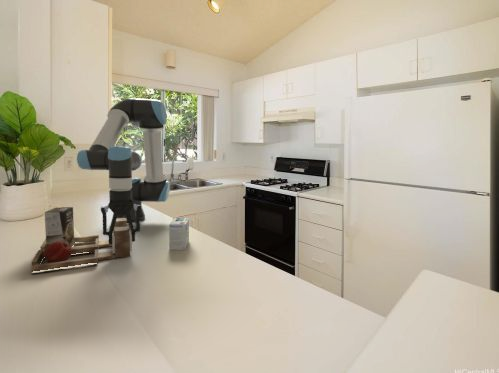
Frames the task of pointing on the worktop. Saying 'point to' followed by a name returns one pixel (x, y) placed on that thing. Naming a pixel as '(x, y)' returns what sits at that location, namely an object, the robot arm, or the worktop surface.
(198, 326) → the worktop surface
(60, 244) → the apple
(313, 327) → the worktop surface
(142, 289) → the worktop surface
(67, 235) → the coffee box
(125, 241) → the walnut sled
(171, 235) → the light bulb box
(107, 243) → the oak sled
